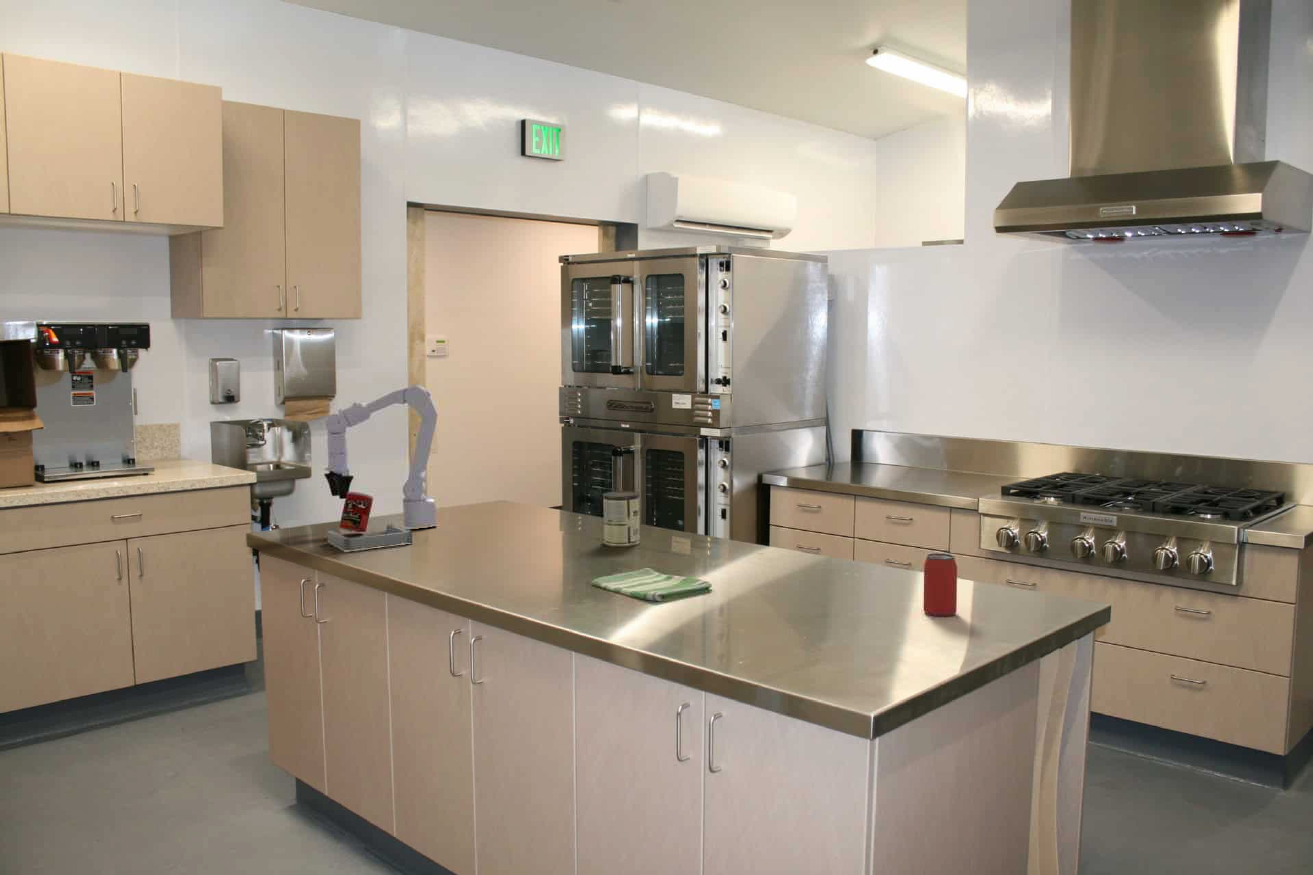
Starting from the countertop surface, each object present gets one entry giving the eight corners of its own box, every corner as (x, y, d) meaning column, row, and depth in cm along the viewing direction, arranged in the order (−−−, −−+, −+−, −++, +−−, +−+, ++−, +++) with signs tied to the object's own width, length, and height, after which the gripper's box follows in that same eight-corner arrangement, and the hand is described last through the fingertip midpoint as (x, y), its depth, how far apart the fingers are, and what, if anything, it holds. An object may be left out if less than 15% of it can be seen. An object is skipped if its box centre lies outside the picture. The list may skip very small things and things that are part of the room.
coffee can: (606, 539, 292) (605, 490, 290) (641, 539, 291) (641, 490, 289) (600, 546, 281) (600, 496, 280) (637, 546, 280) (637, 496, 279)
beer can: (931, 607, 213) (932, 551, 212) (961, 612, 209) (962, 555, 208) (917, 614, 208) (918, 556, 207) (948, 619, 204) (949, 560, 202)
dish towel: (649, 575, 247) (649, 564, 247) (715, 592, 230) (715, 580, 229) (590, 587, 236) (590, 575, 236) (654, 606, 218) (654, 593, 218)
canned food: (333, 526, 299) (342, 490, 302) (348, 531, 307) (356, 496, 309) (356, 529, 297) (364, 493, 299) (370, 534, 304) (378, 498, 307)
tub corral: (392, 535, 300) (391, 523, 300) (412, 544, 287) (412, 532, 287) (327, 543, 290) (327, 531, 289) (345, 552, 276) (345, 540, 276)
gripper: (317, 451, 311) (319, 495, 312) (332, 455, 299) (333, 501, 300) (340, 450, 315) (342, 493, 316) (355, 454, 303) (357, 498, 304)
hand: (339, 497), depth 309 cm, fingers open, 7 cm apart
